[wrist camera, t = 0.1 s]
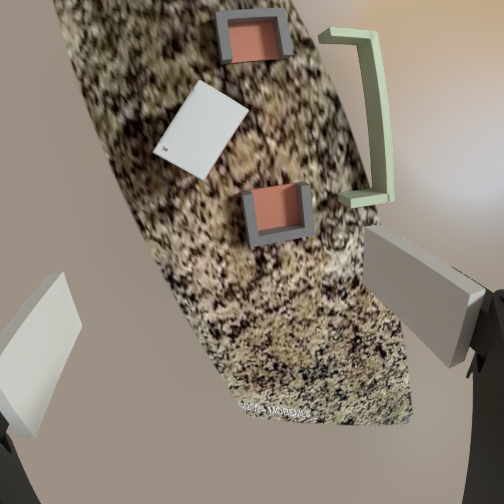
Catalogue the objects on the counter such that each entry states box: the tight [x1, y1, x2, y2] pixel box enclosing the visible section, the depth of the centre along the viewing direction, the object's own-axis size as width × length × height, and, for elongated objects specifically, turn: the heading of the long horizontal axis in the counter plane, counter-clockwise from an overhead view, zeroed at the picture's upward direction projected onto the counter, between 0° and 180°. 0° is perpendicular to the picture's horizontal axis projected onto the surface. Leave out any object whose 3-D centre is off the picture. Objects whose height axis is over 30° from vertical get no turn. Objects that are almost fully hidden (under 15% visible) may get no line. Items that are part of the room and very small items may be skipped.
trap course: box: [214, 8, 395, 247], centre depth 36 cm, size 30×20×4 cm
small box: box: [153, 80, 249, 181], centre depth 31 cm, size 8×6×10 cm
